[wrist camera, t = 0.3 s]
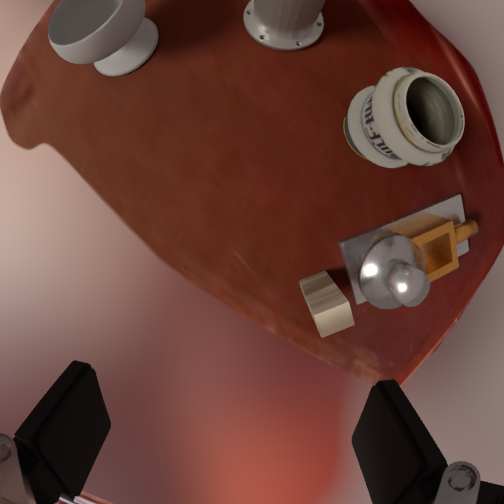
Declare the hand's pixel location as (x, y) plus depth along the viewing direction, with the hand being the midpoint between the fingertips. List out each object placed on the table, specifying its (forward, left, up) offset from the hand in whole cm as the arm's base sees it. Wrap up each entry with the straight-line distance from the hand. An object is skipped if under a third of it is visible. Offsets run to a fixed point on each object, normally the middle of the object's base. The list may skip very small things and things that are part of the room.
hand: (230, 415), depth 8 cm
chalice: (-36, -7, -36) cm, 52 cm away
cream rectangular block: (+13, +7, -36) cm, 39 cm away
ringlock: (+13, +26, -36) cm, 46 cm away
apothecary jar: (-7, +24, -36) cm, 44 cm away
